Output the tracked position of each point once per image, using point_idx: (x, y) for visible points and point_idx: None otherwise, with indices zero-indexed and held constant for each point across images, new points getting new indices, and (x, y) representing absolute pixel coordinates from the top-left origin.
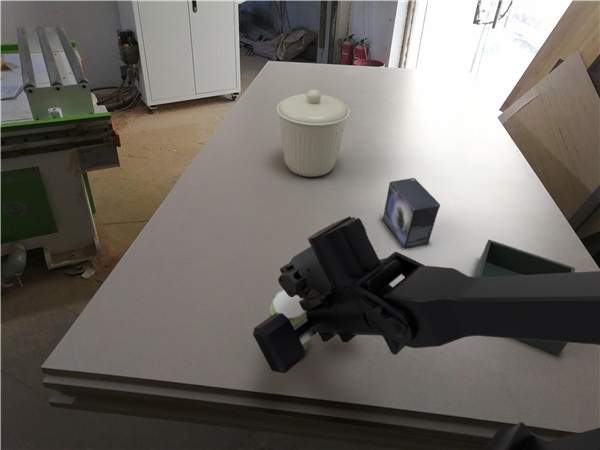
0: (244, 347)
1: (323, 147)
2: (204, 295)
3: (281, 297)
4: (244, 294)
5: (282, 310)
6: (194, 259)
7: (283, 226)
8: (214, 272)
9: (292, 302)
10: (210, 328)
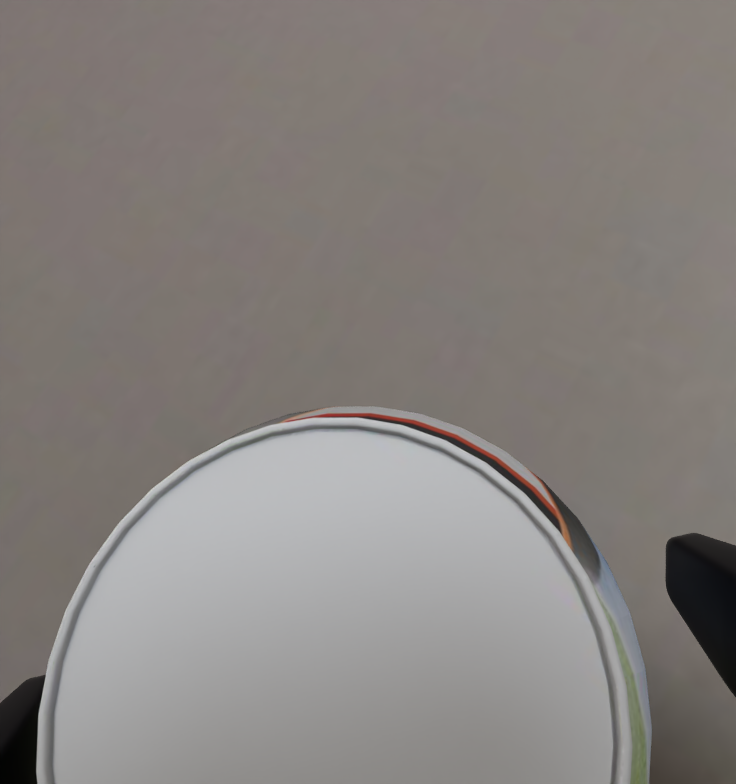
0: None
1: None
2: (169, 185)
3: (252, 528)
4: (333, 252)
5: (126, 770)
6: (238, 23)
7: (692, 10)
8: (275, 102)
9: (349, 717)
10: (82, 351)
